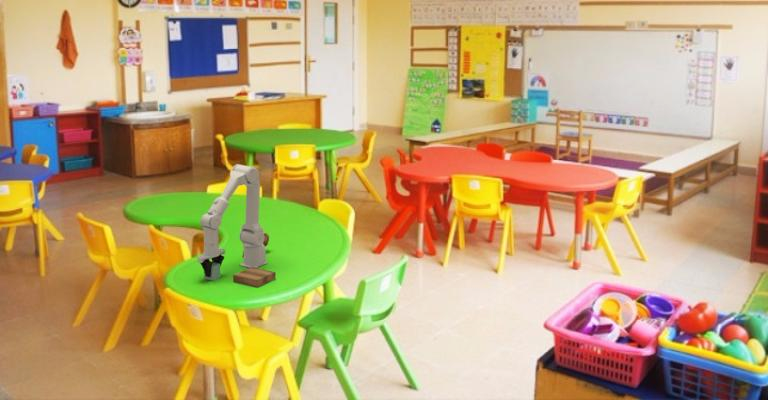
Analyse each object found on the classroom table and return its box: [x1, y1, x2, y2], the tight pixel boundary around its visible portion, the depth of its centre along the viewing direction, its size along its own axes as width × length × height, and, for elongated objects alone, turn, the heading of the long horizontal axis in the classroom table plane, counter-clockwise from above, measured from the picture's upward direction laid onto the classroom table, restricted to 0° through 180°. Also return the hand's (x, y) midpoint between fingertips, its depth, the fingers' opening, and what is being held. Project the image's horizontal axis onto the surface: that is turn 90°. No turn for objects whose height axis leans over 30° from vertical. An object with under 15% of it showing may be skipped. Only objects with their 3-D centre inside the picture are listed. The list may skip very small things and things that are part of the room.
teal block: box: [203, 262, 221, 282], centre depth 321 cm, size 4×4×6 cm
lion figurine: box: [242, 232, 270, 258], centre depth 352 cm, size 15×5×9 cm, turn 138°
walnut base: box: [232, 267, 276, 288], centre depth 320 cm, size 12×12×3 cm
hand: (212, 274), depth 321 cm, fingers closed on teal block, 4 cm apart
